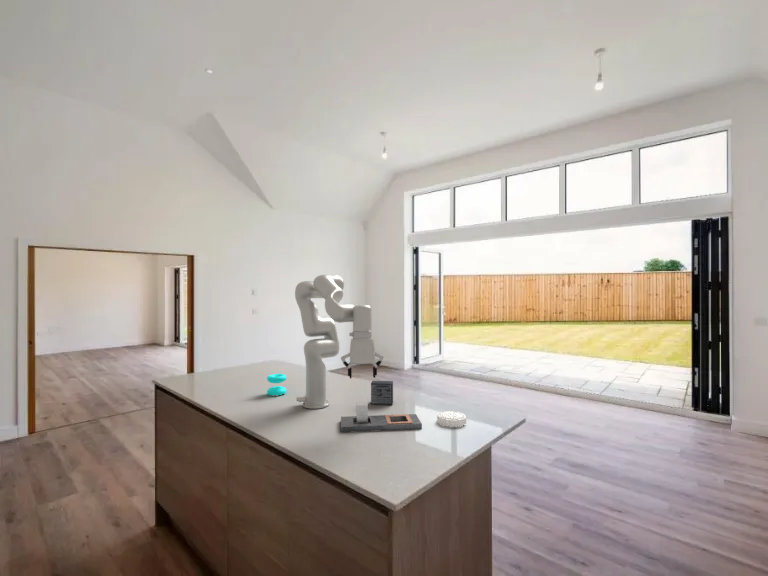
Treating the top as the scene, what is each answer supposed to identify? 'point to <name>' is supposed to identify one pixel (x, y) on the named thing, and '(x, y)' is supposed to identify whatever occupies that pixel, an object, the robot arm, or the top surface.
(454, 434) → the top surface
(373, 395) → the small box
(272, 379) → the donuts
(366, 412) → the light grey block
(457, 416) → the white bumpy disc
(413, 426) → the rail
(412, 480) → the top surface
